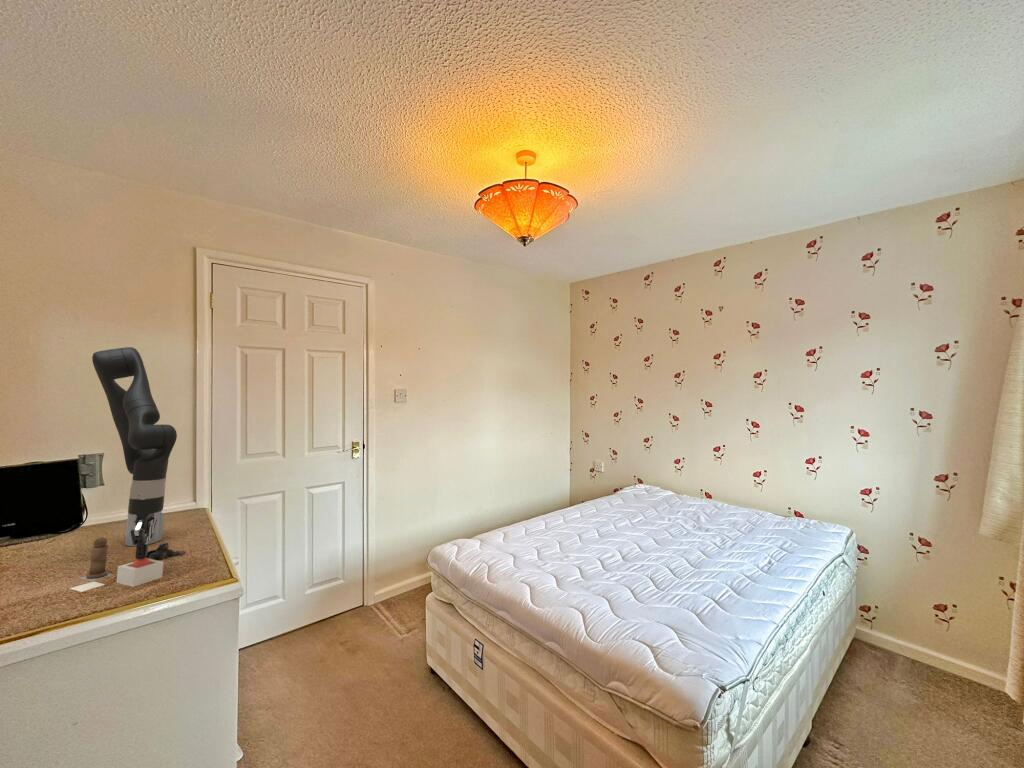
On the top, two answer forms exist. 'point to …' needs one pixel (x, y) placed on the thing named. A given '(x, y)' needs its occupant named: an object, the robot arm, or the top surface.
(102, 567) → the pawn
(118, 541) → the top surface
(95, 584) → the game board
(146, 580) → the popper housing
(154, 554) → the stuffed animal
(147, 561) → the popper button
